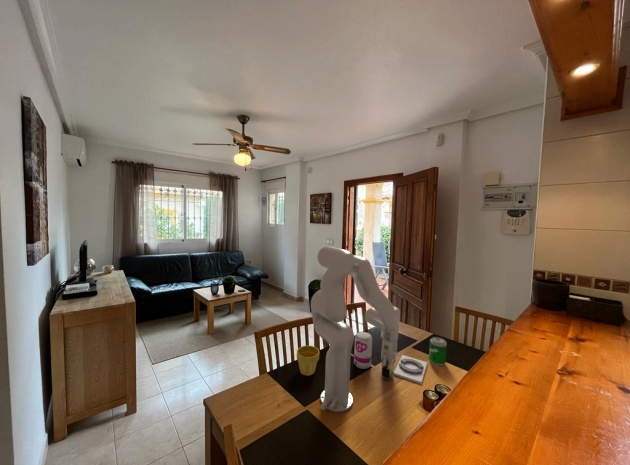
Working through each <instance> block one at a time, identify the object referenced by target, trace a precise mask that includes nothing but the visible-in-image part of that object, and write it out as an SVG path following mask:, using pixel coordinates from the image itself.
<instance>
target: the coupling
mask: <svg viewBox="0 0 630 465" xmlns="http://www.w3.org/2000/svg"><path fill="white" fill-rule="evenodd" d="M387 361H388V360H387ZM382 363H383V361H381V364H382ZM395 363H396V359H395V360H394V362H393V363H392V364H390V365H389V369H390V373H389V378H387V377H384V376H382V368H381V369H380V370H381V372H380V377H381V378H382V379H383V380H384V381H393V379H394V371H395V369H394V366H395V365H394V364H395ZM386 365H387V366H388V363H386Z"/></svg>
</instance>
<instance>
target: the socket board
mask: <svg viewBox="0 0 630 465" xmlns="http://www.w3.org/2000/svg"><path fill="white" fill-rule="evenodd" d="M427 366H428V362H427V361H424V360H421V359H418V358H414V357H412V356H411V357H410V356H408V355H404V354H401V356H400V358H399V361H398V363H397V366H396V367H395V369H394V370H393V376H396V377H398V378H402V379H405V380H408V381H411V382H413V383H417V384H418V385H419V384H420V385H422V384H423V381H424V377H425V373H426V370H427V368H428V367H427Z"/></svg>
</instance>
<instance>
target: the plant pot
mask: <svg viewBox="0 0 630 465" xmlns="http://www.w3.org/2000/svg"><path fill="white" fill-rule="evenodd" d="M296 360H297V362H298V366H299V372H300V373H301V375H302V376H311V375H313V374H314V373H315V371H316V367H317V363H318V361H319V360H320V349H319V348H318V347H317V346H314V345H303V346H300V347H298V348H297V350H296Z"/></svg>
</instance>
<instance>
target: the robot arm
mask: <svg viewBox="0 0 630 465" xmlns="http://www.w3.org/2000/svg"><path fill="white" fill-rule="evenodd" d="M316 257H317V262H318V264H319V265H320V266H321V267H324V268H326V271H325V272H324V274H323V275H322V277H321V279H320V287H319V288H320V290H317V291H316V292H315V293H314V294H313V295H312V297H311V300H310V310H311V315H312V316H311V317H312V322H313V327H314V331H315V332H316V334H317V335H318V336H319V337H320V338H321V339H323V340H324V341H325V342H326V343H327V344H328V345H329V349H328V350H327V352H326V355H325V366H324V367H325V372H324V374H325V375H324V376H325V377H324V390H323V391H322V392H321V394H320V399H319V401H320V403H321V404H320V405H319V406H320V409H321V410H323V411H325V410H328V411H329V412H333V413H343V412H346V411H348V410H350V409H351V408H352V406H353V401H354V399H353V395H352V394H351V393H350V383H351V380H350V378H351V357H352V350H353V349H352V348H353V345H354V342H355V332H354V330H353V329H352V328H351V326H350V325H348V324H347V323H346V322H344V320H345V319H346V317H347V304H346V296H345V288H344V283H345V279H346V278H347V276H351V277H352V280H353V282H354V285H355V287H356V290H357V293H358V296H359V297H360V298H361V299H362V300H363V301H364V302H365V303H367V304H368V305H369V306H371V307H370V308H368V309H367V310H366V311H365V313H364V318H365V321H366V322H367V323H368V324H370V325H372V326H373V327H375V328H377V329H379V330H380V338H381V339H382V342H381V351H380V353H381V354H380V360H381V369H382V376H384V377H387V378H389V373H390V369H389V365H390V364H392V363H393V362H394V360H395V361H396V358H397V354H398V340H399V335H400V334H399V331H400V317H401V311H400V308H398V307H397V306H395V305H393V303H392V302H391V300H389V298H388V297H387V296H386V295H385V293H384V292H383V291H382V290H381V289H380V287H379V283H378V281H377V278H376V275H375V273H374V270H373V267H372V264H371V262H370V260H369V259H367V258H366V257H363V256H359V255H354V254H353V253H352V252H350V251H349V250H346V249H342V248H338V247H334V246H323V247H321V248H320V249H319V251H318V253H317V256H316ZM387 360H388V361H387ZM382 361H383V363H382ZM386 363H388V366H387V365H386ZM394 363H395V362H394Z"/></svg>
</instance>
